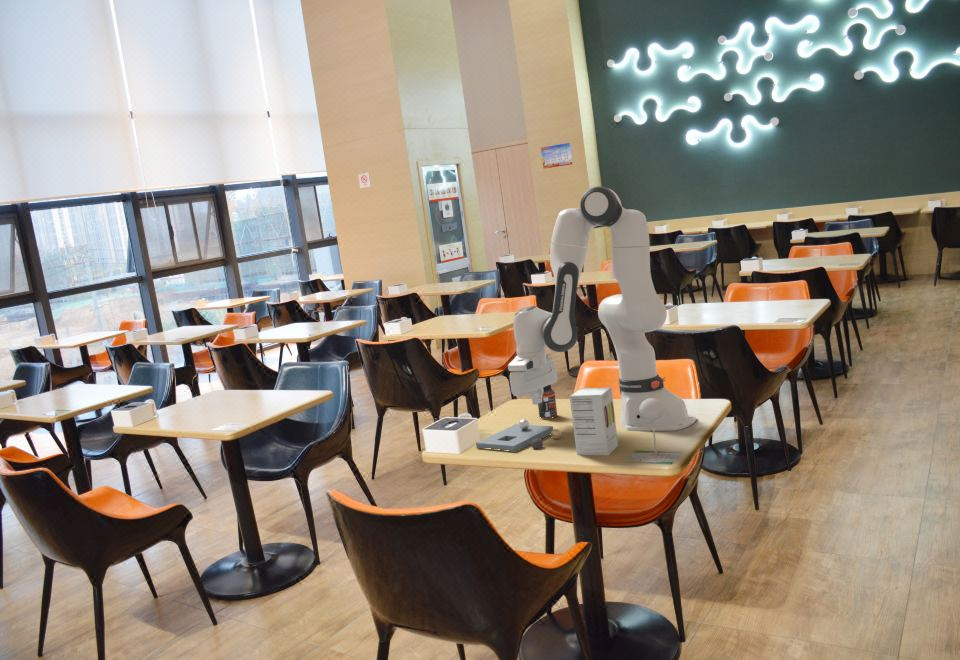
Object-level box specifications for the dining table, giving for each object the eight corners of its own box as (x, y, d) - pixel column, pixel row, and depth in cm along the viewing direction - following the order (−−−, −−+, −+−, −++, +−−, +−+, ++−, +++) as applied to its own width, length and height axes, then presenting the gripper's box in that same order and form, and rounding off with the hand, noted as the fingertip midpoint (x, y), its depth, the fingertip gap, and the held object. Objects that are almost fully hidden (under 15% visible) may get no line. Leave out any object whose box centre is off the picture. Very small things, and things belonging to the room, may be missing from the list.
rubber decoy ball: (545, 448, 227) (544, 437, 227) (539, 451, 224) (537, 440, 224) (536, 447, 229) (534, 436, 229) (530, 451, 227) (528, 440, 226)
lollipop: (640, 457, 207) (634, 401, 205) (649, 450, 212) (643, 395, 210) (663, 458, 203) (657, 401, 202) (671, 451, 208) (665, 395, 206)
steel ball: (532, 428, 241) (530, 418, 240) (525, 431, 238) (524, 421, 238) (523, 428, 243) (522, 417, 242) (517, 431, 240) (515, 420, 240)
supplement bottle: (552, 420, 257) (548, 386, 256) (536, 420, 260) (532, 386, 259) (560, 415, 262) (556, 382, 261) (544, 415, 265) (540, 382, 264)
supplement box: (608, 456, 211) (601, 394, 209) (576, 456, 215) (568, 395, 213) (619, 445, 220) (612, 386, 218) (587, 445, 224) (580, 387, 222)
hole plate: (516, 431, 249) (515, 424, 249) (554, 434, 240) (553, 426, 240) (477, 451, 234) (475, 442, 234) (515, 454, 225) (514, 446, 225)
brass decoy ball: (564, 438, 235) (563, 427, 234) (558, 441, 232) (557, 430, 232) (555, 437, 237) (554, 427, 236) (549, 440, 234) (548, 430, 234)
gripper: (542, 352, 255) (547, 395, 256) (504, 366, 239) (510, 411, 241) (559, 352, 251) (564, 395, 252) (521, 366, 235) (527, 412, 237)
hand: (537, 403), depth 246 cm, fingers closed
